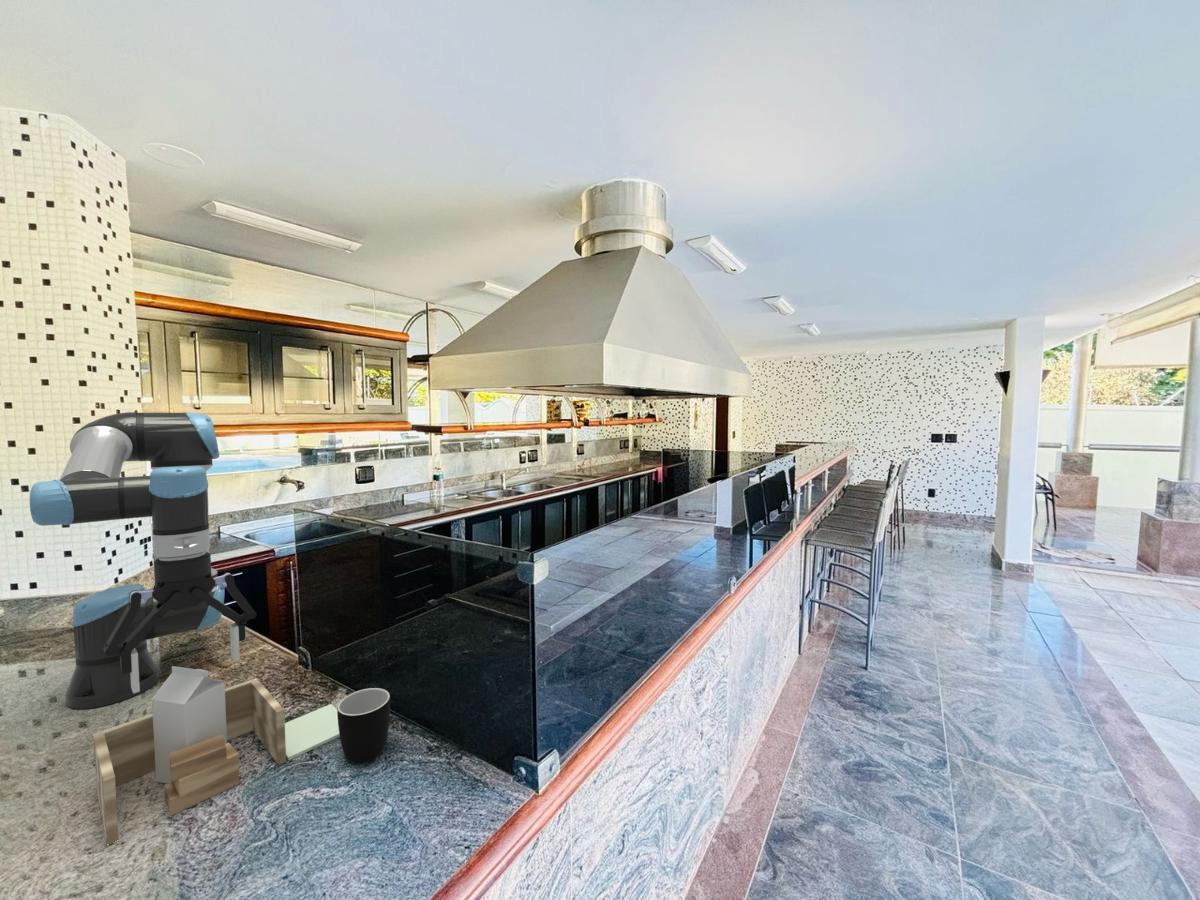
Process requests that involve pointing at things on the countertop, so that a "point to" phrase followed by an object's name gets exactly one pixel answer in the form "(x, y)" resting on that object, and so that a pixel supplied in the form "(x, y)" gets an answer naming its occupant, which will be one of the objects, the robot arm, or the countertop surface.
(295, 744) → the mat
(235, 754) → the offcut stack
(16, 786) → the countertop surface
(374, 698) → the mug
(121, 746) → the frame
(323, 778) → the countertop surface
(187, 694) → the milk carton
